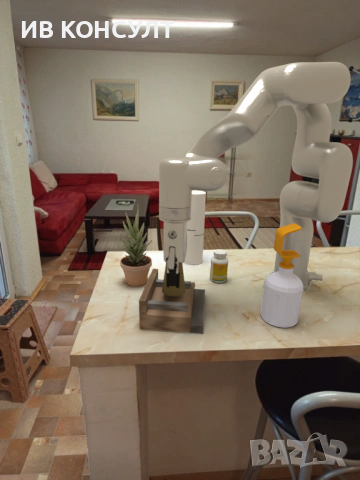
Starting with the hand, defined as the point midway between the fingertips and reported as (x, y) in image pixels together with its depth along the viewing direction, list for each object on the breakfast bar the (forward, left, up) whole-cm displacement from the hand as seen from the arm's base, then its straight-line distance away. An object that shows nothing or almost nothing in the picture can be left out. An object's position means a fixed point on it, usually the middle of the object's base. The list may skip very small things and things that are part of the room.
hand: (174, 282), depth 80 cm
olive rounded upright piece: (0, 0, -2) cm, 2 cm away
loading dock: (-1, 0, -8) cm, 8 cm away
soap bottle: (-27, 0, -8) cm, 28 cm away
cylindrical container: (-3, -34, -8) cm, 35 cm away
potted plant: (+13, -15, -8) cm, 22 cm away
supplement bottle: (-12, -20, -8) cm, 25 cm away
